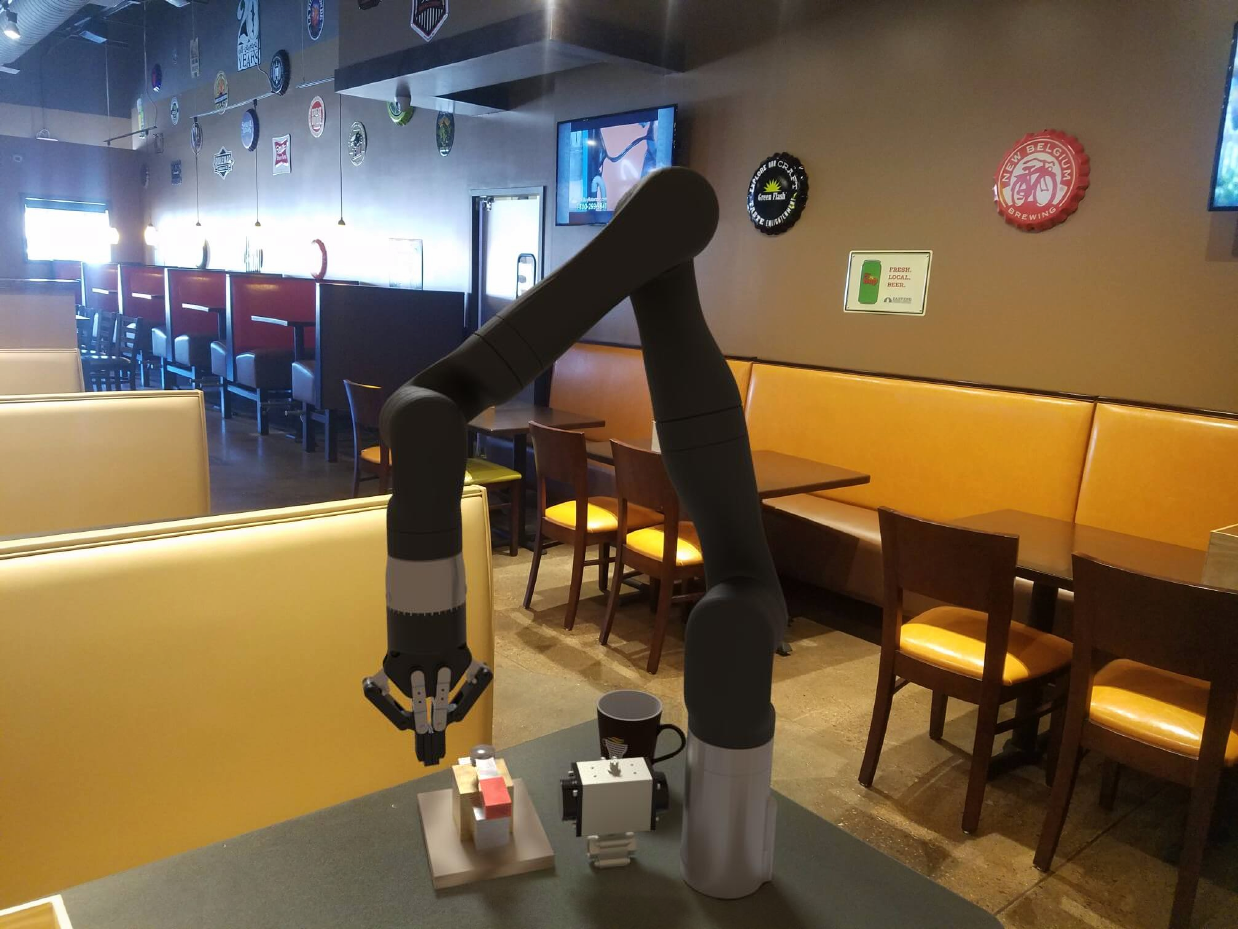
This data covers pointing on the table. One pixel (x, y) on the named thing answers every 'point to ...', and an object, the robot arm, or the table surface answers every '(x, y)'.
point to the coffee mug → (632, 725)
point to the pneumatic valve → (612, 805)
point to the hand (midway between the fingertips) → (430, 762)
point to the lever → (490, 783)
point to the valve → (479, 810)
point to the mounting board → (461, 859)
